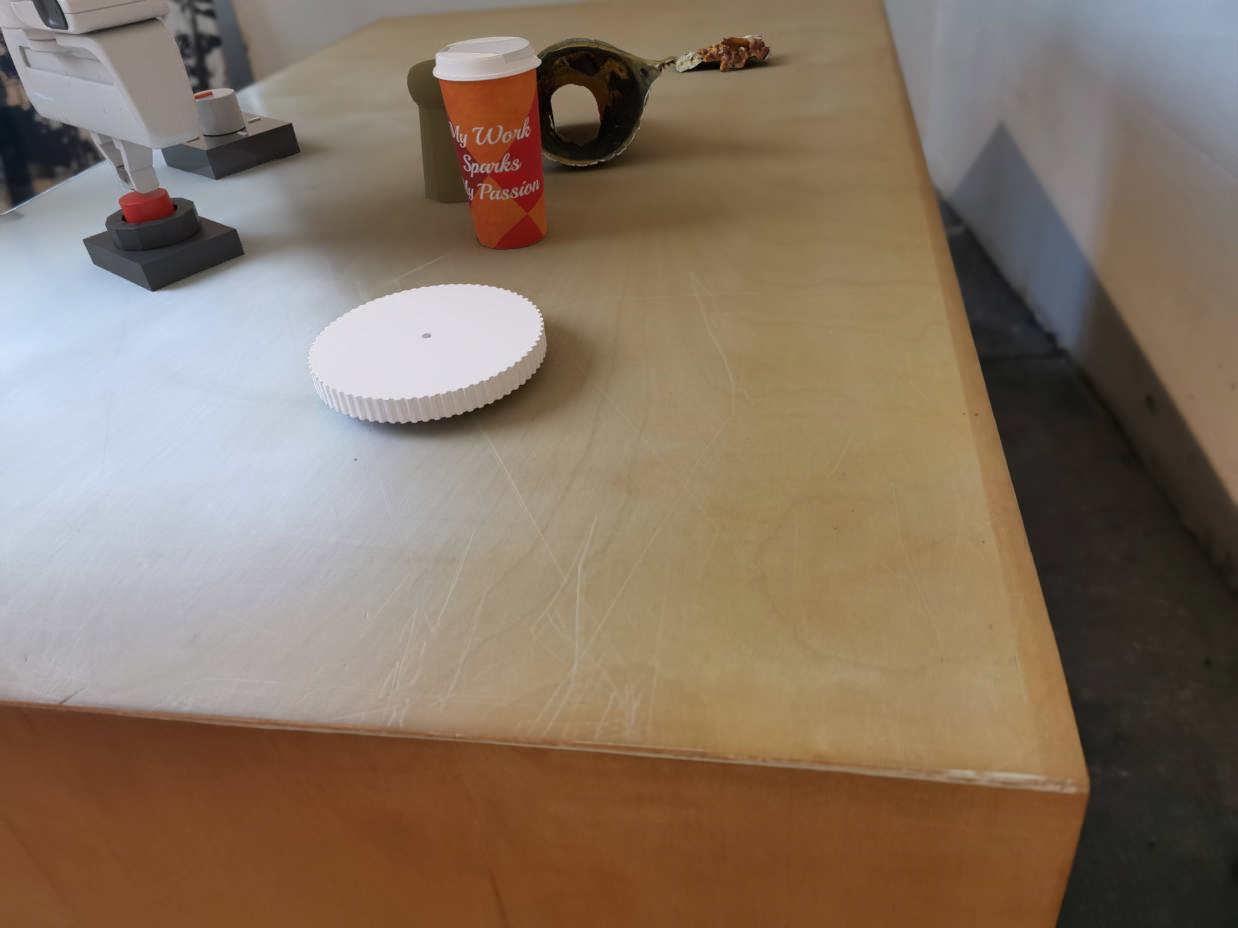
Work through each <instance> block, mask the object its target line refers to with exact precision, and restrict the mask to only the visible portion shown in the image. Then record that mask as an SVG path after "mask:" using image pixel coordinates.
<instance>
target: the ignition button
mask: <svg viewBox="0 0 1238 928" xmlns="http://www.w3.org/2000/svg"><path fill="white" fill-rule="evenodd" d="M170 198H171V196H170V194H169V191H168V190H167V189H166V188H162V187H159V188H158V189H157V190H154V191H151V192H148V193H145V194H143V193H139V192H136V191H134V190H133V191H131V192H128V193H126V194H124V195H122V196H121V197H120V198H119V199H118V205H119V207H120V209H122V211H123V214H124V216H125V218H126V221H127V223H141V222H147V221H152V220H156V219H159V218H162V217H165V216H168V215H170V214H172V213H173V212H175V209H174V207H173V204H172V202H171V199H170Z"/></svg>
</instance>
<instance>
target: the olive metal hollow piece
mask: <svg viewBox="0 0 1238 928" xmlns="http://www.w3.org/2000/svg"><path fill="white" fill-rule="evenodd" d="M536 56H537V57H538V59H540V60H541V64H540V65H539V66H538V67H536V78H537V92H538V106H539V120H540V134H541V148H542V155H544V156H545V157H546V158H547V159H548V160H550V161H553V162H560V164H564V165H568V166H577V167H584V166H585V167H587V166H588V165H589V166H592V165H596V164H598V162H606V161H611V159H613V158H614V157H615V156H619V155H621V154H622V153H623V152H624V151H625V150H627V146H629V145H630V144H631V142H632V141H633V140H634V139H635V136H636V132H637V131H638V130H640V129H641V128H640V126H642V123H641V122H642V120H643V116H644V113H646V112H645V109H646V107H647V106H648V102H649V98H650V91H651V90H652V86H653V84H654V83H655V82H656V81H657V80H658V79H659V78H660V77H662V72H663V70H666V69H667V67H669V68H671V65H674V66H675V65H676V61H677V58H679V57H678V56H674V55H673V56H672V55H670V56H668V57H666V58H664V59H661V60H660V59H659V60H656V59H646V58H643V57H640V56H637V55H635V54H633V53H630V52H628V51H626V50H624V49H623V50H622V49H620V48H618V47H616V46H615V45H614V44H610V43H609V42H606V41H604V40H601V39H600V40H599V39H595V38H594V39H592V38H589V37H574V38H573V37H572V38H566V39H563V40H559V41H558V42H555V43H553V44H550V45H549V46H547V47H545V48H543V49H542V50H541V51H539V53H537V54H536ZM666 66H667V67H666ZM568 85H574V86H578V87H584V88H586V89H587V90H588V91H589V92H590V93H591V94H592V96H593V98H594V99H595V102H596V106H597V112H598V115H599V122H600V125H599V127H598V132H597V134H596V138H593V139H592V140H591V139H590V141H587V142H585V143H583V144H581V145H580V144H579V143H577V142H575V141H573V140H571V139H569V138H567V137H565V136H563V135H561V134H559V133H557V130H556V125H555V117H554V111H553V104H552V97H553V95H554V94H555V92H557V91H558V90H559V89H560V88H562V87H564V86H568Z"/></svg>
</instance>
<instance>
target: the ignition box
mask: <svg viewBox="0 0 1238 928" xmlns="http://www.w3.org/2000/svg"><path fill="white" fill-rule="evenodd" d="M170 199H171V202H172V204H173V207H174V209H175V212H173V213H172V214H170V215H168V216H165V217H162V218H159V219H156V220H152V221H147V222H141V223H127V221H126V218H125V216H124V214H123V211H122V209H121V208H120V209H118V210H116V211H115V212H113V213H112V214H110V215H108V216H106V220H105V223H104V226H105V228H106V230H105V231H102V232H98V233H96V234H94V235H90V236H88V237H84V238H83V239H82V240H81V241H82V243H83V245H84V247H85V249H86V251H87V252H88V255H89V257H90V259H91V262H92V264H93V265H94V266H96V267H98V268H101V269H102V270H105V271H107V272H109V273H111V274H113V275H116V276H118V277H120V278H121V279H124V280H126V281H128V282H130V283H133V284H135V285H137V286H139V287H141V288H143V289H145V290H147V291H150V292H152V293H153V292H156V291H158V290H160V289H163V288H165V287H168V286H171V285H173V284H176V283H178V282H180V281H183V280H185V279H187V278H191V277H193V276H195V275H198V274H199V273H202V272H205V271H207V270H210V269H212V268H214V267H217V266H219V265H222V264H224V263H226V262H230V261H231V260H232V261H233V259H236V258H239V257H241V256H244V255H245V254H246V253H245V250H244V247H243V244H242V242H241V239H240V236H239V233H238V230H237V229H236V228H234V227H232V226H230V225H226V224H223V223H221V222H218V221H215V220H213V219H209V218H206V217H205V216H201V215H199V213H198V210H197V208H196V205H195V203H194V200H191V199H188V198H185V197H170Z"/></svg>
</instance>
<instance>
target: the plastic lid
mask: <svg viewBox="0 0 1238 928" xmlns="http://www.w3.org/2000/svg"><path fill="white" fill-rule="evenodd" d="M547 347H548V344H547V336H546V330H545V323H544V318H543V314H542V313H541V310H540V309H539V308H538V307H537V305H536V304H534V302H533V301H531V300H529V298H528V297H524V295H522V294H518V293H517V292H515V291H514V292H512V290H510V289H505V288H503V287H500V288H497V286H495V285H494V286H493V285H492V286H489V285H487V284H484V285H481V284H480V283H479V284H478V283H476V284H472V283H467V284H464V283H458V284H454V283H449V284H443V283H442V284H439V285H434V284H433V285H430V286H421V287H419V288H416V287H414V288H411V289H409V290H407V289H405V290H402V291H401V292H393V293H392V294H387V295H383V296H382V297H377V298H375V299H374V300H371V301H370V300H369V301H367V302H366V303H365V304H360V305H358V307H357V308H352V309H350V310H349V312H345V313H343V314H342V316H339V317H337V318H335V321H331V322H330V323H329V325H327V326H325V327H324V329H323V330H321V331H320V332H319V335H317V336H316V337H315V340H314V341H312V343H311V345H310V347H309V351H307V355H308V356H307V357H306V358H307V366H308V370H309V373H310V377H311V378H312V382H313V385H314V388H315V390H316V392H317V395H318V396H319V397H320V399H321V401H322V402H323V401H324V404H325V405H327V406H329V408H330V409H332V410H334V409H335V411H336V412H337V413H342V414H343V415H344V416H350V418H353V419H356V418H359V420H360V421H366V420H368V422H370V423H371V422H372V423H374V422H376V421H377V422H379V424H384V423H386V422H389V424H396V423H400V424H406V423H408V422H411V423H412V424H416V423H418V422H419V421H420V422H421V421H423V422H425V423H426V422H429V421H430V420H434V421H437V420H441V419H442V418H446V419H447V418H452V416H454V415H457V416H460V415H463V414H464V413H465V412H468V413H470V412H473V411H474V410H475V409H481V408H484V407H485V405H487V404H489V405H491V404H493V403H494V401H496V400H502V399H503V398H504V396H508V395H511V393H512V391H517V390H518V389H519V387H520V385H521V386H522V385H525V384H526V381H527V380H530V379H531V378H532V375H534V374H536V373H537V369H539V368H541V364H543V362H544V358H546V353H547Z"/></svg>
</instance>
